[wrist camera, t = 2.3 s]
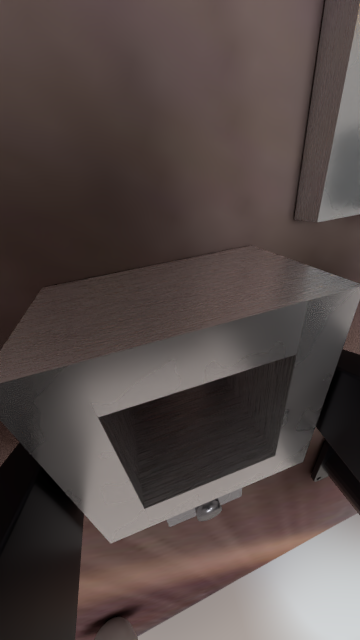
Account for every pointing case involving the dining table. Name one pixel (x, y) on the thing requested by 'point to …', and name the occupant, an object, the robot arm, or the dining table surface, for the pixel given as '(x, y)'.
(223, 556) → the dining table surface
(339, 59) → the peg stand
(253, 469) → the grey square frame
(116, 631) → the grey stone carving
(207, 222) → the dining table surface
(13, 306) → the dining table surface
